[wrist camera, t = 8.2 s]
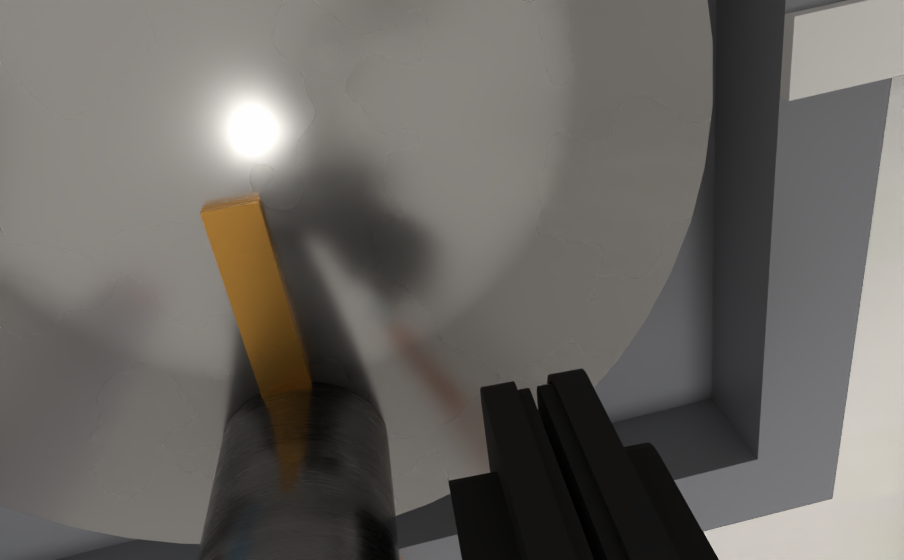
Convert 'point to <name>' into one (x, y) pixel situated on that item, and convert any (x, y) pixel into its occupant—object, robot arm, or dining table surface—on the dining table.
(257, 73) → the dial
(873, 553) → the dining table surface
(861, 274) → the housing
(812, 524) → the dining table surface
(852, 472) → the dining table surface
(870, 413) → the dining table surface
